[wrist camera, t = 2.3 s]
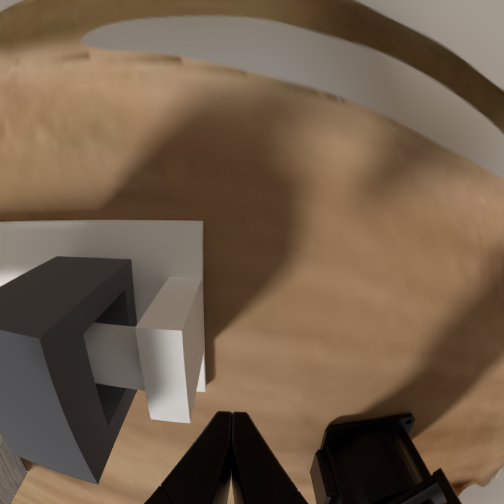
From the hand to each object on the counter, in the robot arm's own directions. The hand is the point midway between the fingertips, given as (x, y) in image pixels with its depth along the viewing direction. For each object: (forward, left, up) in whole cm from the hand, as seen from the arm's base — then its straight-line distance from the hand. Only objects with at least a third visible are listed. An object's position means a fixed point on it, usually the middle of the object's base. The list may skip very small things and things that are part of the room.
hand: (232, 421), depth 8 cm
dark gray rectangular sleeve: (+7, 0, -6) cm, 9 cm away
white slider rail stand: (+12, 0, -7) cm, 14 cm away
